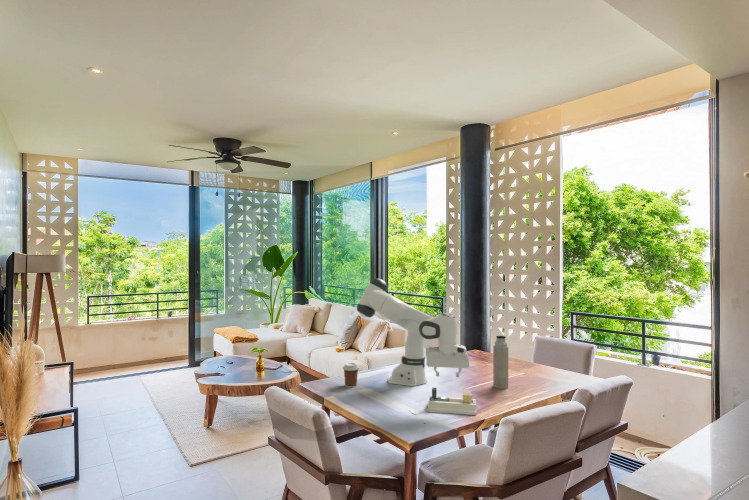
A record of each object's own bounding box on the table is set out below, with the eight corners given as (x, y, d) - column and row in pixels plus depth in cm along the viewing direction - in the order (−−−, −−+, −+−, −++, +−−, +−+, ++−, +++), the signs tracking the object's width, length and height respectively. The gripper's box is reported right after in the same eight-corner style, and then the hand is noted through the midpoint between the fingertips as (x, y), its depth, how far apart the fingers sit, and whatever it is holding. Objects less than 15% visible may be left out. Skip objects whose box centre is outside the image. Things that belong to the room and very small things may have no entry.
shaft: (430, 405, 209) (430, 389, 209) (430, 402, 213) (430, 387, 213) (449, 406, 208) (449, 390, 208) (449, 403, 211) (449, 388, 211)
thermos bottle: (491, 386, 244) (491, 336, 244) (497, 383, 250) (497, 334, 250) (504, 389, 239) (504, 338, 239) (510, 386, 245) (510, 335, 245)
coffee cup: (356, 382, 251) (356, 361, 251) (361, 387, 242) (361, 365, 243) (340, 384, 248) (340, 362, 248) (345, 389, 239) (345, 366, 239)
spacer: (462, 407, 206) (462, 395, 206) (462, 405, 210) (462, 392, 210) (471, 408, 205) (471, 395, 205) (471, 405, 209) (471, 392, 209)
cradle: (428, 411, 205) (428, 403, 205) (429, 403, 217) (429, 394, 217) (476, 415, 201) (476, 406, 201) (475, 406, 213) (475, 397, 213)
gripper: (425, 348, 209) (425, 377, 209) (469, 349, 206) (469, 379, 206) (425, 345, 215) (425, 373, 215) (468, 346, 212) (468, 375, 212)
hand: (447, 376), depth 210 cm, fingers open, 8 cm apart
